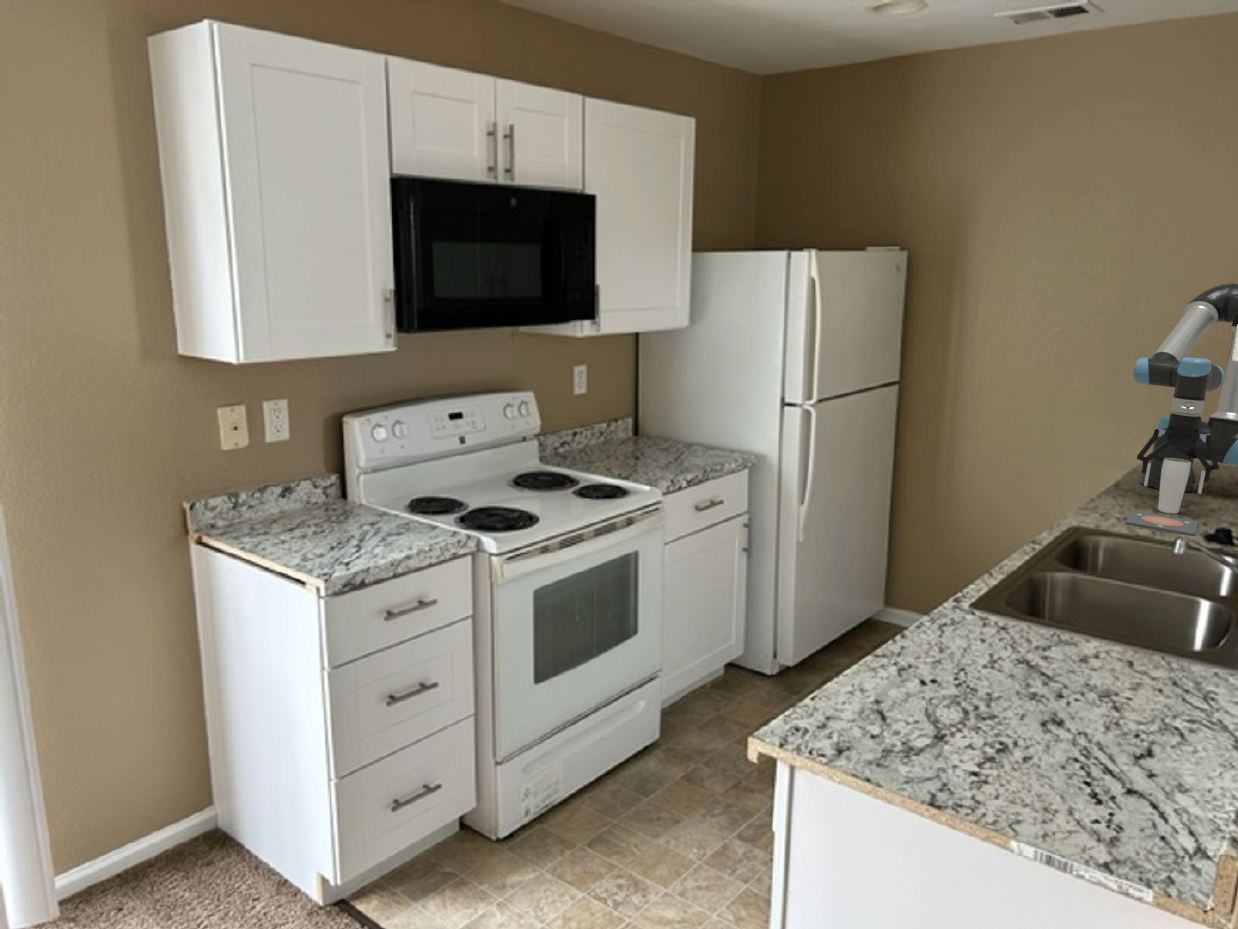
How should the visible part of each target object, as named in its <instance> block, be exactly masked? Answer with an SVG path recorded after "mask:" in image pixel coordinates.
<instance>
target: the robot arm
mask: <svg viewBox="0 0 1238 929" xmlns="http://www.w3.org/2000/svg"><path fill="white" fill-rule="evenodd" d="M1182 315H1183V316H1182V317H1181V319H1180V320H1179V321H1178V323H1176V325H1175V326H1174V328H1173V329H1172V330H1171V332H1169V334H1168V335H1167V337H1166V338H1165V339H1164V341H1163V342H1162V343H1161V345H1160V346H1159V347H1158V349H1156V351H1155V353H1154V354H1153V355H1152V356H1151V357H1150V358H1149V357H1140V358H1138V359H1137V360H1136V362H1135V364H1134V367H1133V370H1132V374H1133V380H1134V381H1135V382H1136V383H1139V384H1145V385H1148V386H1159V387H1165V388H1166V387H1168V388H1174V392H1173V396H1172V402H1171V407H1170V411H1171V413H1170V414H1169V415H1163V416H1161V417H1159V419H1158V421H1157V425H1156V427H1155V428H1154V430H1153V432H1152V436H1151V437H1150V438H1149V439H1148V441H1147V442H1146V444H1144V446H1143V447H1142V449H1140V451H1139V453H1138V454H1137V455H1136V460H1139V461H1141V462H1142V467H1141V474H1142V476H1141V478H1140V484H1141V483H1142V484H1141V485H1143V484H1144V485H1143V486H1144V487H1148V486H1150V487H1149V488H1152V487H1154V488H1153V489H1156V488H1157V490H1160V480H1161V470H1162V465H1163V461H1164V458H1178V459H1184V460H1188V461H1190V462H1191V467H1190V473H1189V477H1188V481H1187V484H1186V488H1185V491H1184V493H1191V492H1190V491H1193V492H1195V491H1196V486H1197V482H1196V476H1195V472H1194V462H1195V459H1197V460H1198V461H1199V462H1200V463H1201V465H1202V467H1203V469H1202V468H1201V472H1200V477H1199V478H1200V479H1199V481H1198V482H1199V483H1198V488H1197V493H1198V494H1200V495H1201V494H1202V491H1203V487H1204V483H1209V480H1210V475H1211V472H1212V471H1215V470H1216V471H1217V470H1219V469H1220V465H1219V463H1220V464H1224V465H1231V466H1232V465H1234V466H1238V362H1234V361H1232V353H1233V349H1234V344H1235V337H1236V328H1237V324H1238V283H1222V284H1218V285H1216V286H1212V287H1210V288H1208V289H1206V290H1205V291H1203V292H1201V293H1199V294H1198V295H1197V296H1195V297H1193V298H1192V299H1191V300H1190V302H1188V304H1187V305H1186V306H1185V307H1184V310H1183V314H1182ZM1222 322H1223V323H1231V326H1230V329H1231V330H1232V331H1233V333H1234V339H1233V344H1232V348H1231V350H1230V351H1231V352H1230V356H1229V359H1228V364H1227V369H1226V370H1225V371H1224V369H1223V368H1222V367H1221V366H1219V365H1218V364H1213V363H1212V360H1210V359H1208V358H1201V357H1200V358H1199V357H1187V356H1188V355H1189V354H1190V352H1191V351H1192V350H1193V348H1194V347H1195V345H1197V343H1198V341H1199V340H1200V339H1201V338H1202V336H1203V335H1204V334H1205V332H1206V331H1207V330H1208V329H1210V328H1212V327H1214V326H1215V325H1216V324H1217V323H1222ZM1225 372H1226V373H1225ZM1220 387H1222V389H1221V392H1220V398H1219V401H1218V406H1217V409H1216V412H1215V413H1212V414H1211V415H1209V418H1208V421H1203V416H1201V415H1202V414H1203V411H1204V406H1205V400H1206V395H1207V392H1212V391H1215V390H1218V389H1219V388H1220ZM1150 448H1152V450H1151V452H1150V453H1149V454H1147V452H1148V451H1149V449H1150ZM1146 454H1147V455H1146ZM1145 455H1146V456H1145ZM1209 462H1211V464H1209ZM1147 485H1148V486H1147Z"/></svg>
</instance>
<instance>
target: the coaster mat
mask: <svg viewBox="0 0 1238 929" xmlns="http://www.w3.org/2000/svg"><path fill="white" fill-rule="evenodd" d="M1198 523H1199V521H1198V520H1192V519H1185V518H1179V517H1172V516H1168V515H1161V514H1156V513H1149V512H1144V511H1137V510H1131V511H1130V512H1129V514H1128V516H1127V519H1126V520H1125V523H1124V524H1125V525H1129V526H1134V527H1135V526H1136V527H1140V528H1146V529H1152V530H1158V531H1163V532H1164V531H1165V532H1170V533H1175V534H1181V535H1185V536H1193V537H1195V536H1196V533H1197V529H1198Z"/></svg>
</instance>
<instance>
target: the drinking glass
mask: <svg viewBox="0 0 1238 929" xmlns="http://www.w3.org/2000/svg"><path fill="white" fill-rule="evenodd" d="M1190 467H1191V462H1190V461H1188V460H1184V459H1178V458H1164V461H1163V465H1162V470H1161V480H1160V489H1159V494H1158V502H1157V503H1158V505H1157V510H1158V511H1159V512H1160V513H1161V512H1162V513H1164V514H1171V515H1175V514H1178V513H1179V512H1180V509H1181V504H1182V502H1183V501H1182V500H1183V497H1184V495H1185V492H1184V491H1185V488H1186V484H1187V481H1188V477H1189V473H1190Z"/></svg>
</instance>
